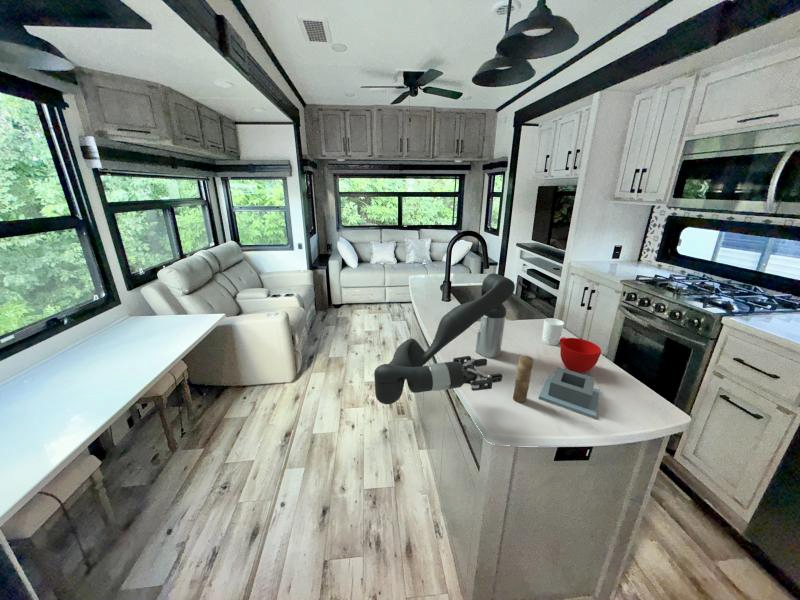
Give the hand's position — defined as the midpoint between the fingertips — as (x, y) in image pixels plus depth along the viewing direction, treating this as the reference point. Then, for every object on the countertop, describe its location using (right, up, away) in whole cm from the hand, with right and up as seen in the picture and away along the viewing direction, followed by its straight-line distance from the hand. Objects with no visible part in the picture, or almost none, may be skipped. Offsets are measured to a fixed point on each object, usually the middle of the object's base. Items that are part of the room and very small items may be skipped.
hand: (493, 369), depth 92 cm
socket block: (+28, -11, +10) cm, 32 cm away
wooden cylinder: (+11, -11, +8) cm, 17 cm away
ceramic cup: (+39, -5, +27) cm, 48 cm away
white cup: (+39, +2, +46) cm, 61 cm away
